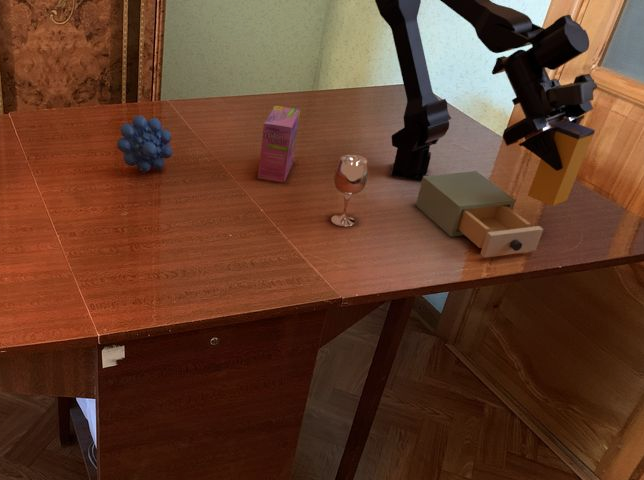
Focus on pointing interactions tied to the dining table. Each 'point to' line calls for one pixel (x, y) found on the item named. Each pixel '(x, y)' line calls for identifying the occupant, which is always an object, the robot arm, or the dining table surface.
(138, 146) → the blue knobby rounded piece
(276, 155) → the box
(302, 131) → the dining table surface
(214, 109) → the dining table surface
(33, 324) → the dining table surface
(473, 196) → the cabinet
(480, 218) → the drawer
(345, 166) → the wineglass
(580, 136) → the carton
